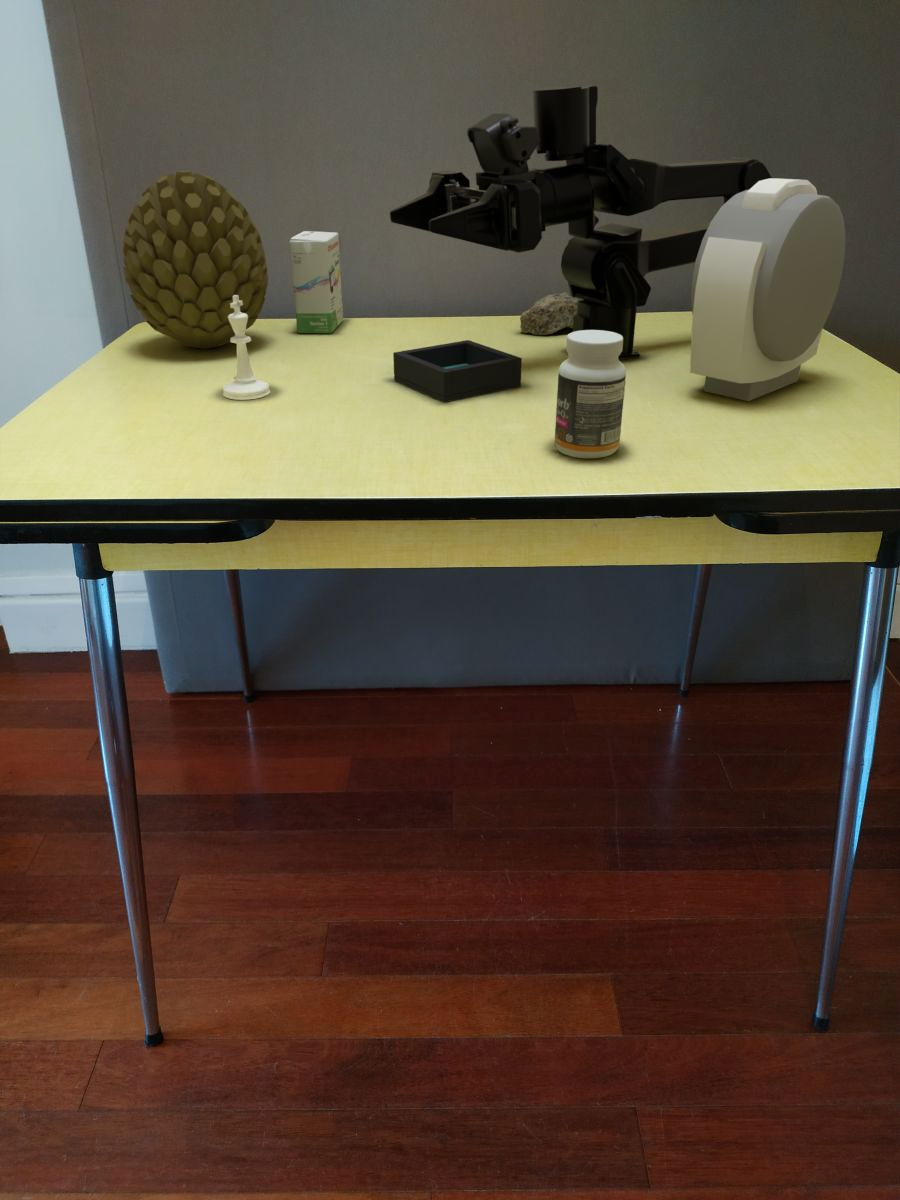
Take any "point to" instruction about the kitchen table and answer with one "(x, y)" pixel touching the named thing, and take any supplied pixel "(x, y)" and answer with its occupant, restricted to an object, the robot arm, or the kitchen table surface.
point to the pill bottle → (590, 395)
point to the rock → (549, 314)
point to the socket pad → (457, 370)
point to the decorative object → (193, 259)
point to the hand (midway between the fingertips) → (409, 221)
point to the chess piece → (243, 360)
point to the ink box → (316, 281)
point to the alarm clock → (764, 287)
